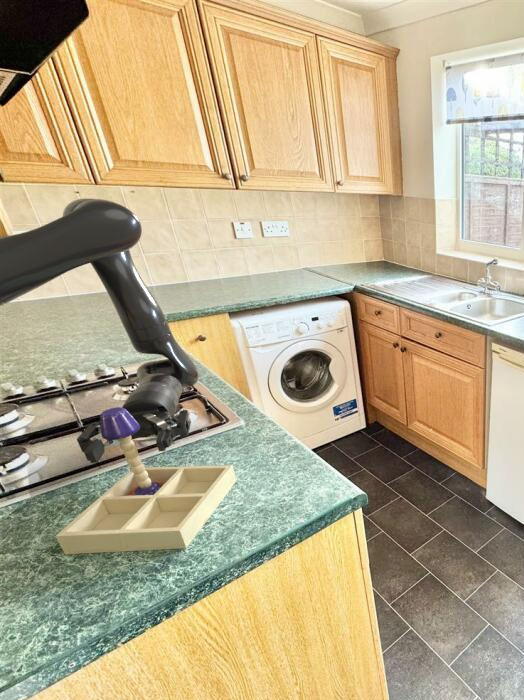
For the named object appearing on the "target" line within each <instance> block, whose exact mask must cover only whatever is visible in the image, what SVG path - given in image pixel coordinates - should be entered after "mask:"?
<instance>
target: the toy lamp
mask: <svg viewBox="0 0 524 700" xmlns="http://www.w3.org/2000/svg"><path fill="white" fill-rule="evenodd" d="M99 421H100V426H101V435H102V437H103V438H104V439H103V440H106V441H107V440H118V441H119V442H120V445H119V447H120V449H121V450H122V451H123V455H124V457H125V458H126V462H127V464H128V466H130V471H132V472H133V473H134V477H135V479H136V480H138V485H139V487H138V488H137V489H136V490H135V491H134V493H133V496H137V495H154V494H155V493H156V492H157V491H158V490H159V489H160V488H161V487H162V485H161V484H159V483H155V482H151V480H150V478H149V477H148V473H147V471H146V470H145V467H146V465H145V464H144V463H143V462H142V457H141V456H140V455H139V451H138V449H137V448H136V447H135V446H136V445H135V444H136V443H135V442H134V440H133V439H132V440H131V438H132V437H131V435H133V434H135V433H136V432H138V431H139V429H140V425H139V424H138V423H137V421H136V420H135V419H134V418H133V417H132V416H131V415H130V414H129V412H128V411H127V410H126V409H124V408H122V407H121V406H115V407H112V408H107V409H106V410H103V411H102V412H101V413H100V416H99Z"/></svg>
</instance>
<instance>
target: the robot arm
mask: <svg viewBox="0 0 524 700" xmlns="http://www.w3.org/2000/svg"><path fill="white" fill-rule="evenodd" d="M142 229H143V228H142V224H141V221H140V219H139V218H138V217H137V215H136V214H135V212H133V211H132V210H131V209H129V208H127V207H125V206H124V205H122V204H120V203H117V202H115V201H111V200H108V199H101V198H78V199H75V200H73V201H71V202H69V203H68V204H67V205H66V206H65V208H64V209H63V211H62V216H61V217H59V218H56V219H55V220H52V221H50V222H48V223H46V224H44V225H41V226H39V227H36V228H33V229H31V230H28V231H24V232H20V233H16V234H11V235H6V236H1V237H0V307H1V306H4V304H5V305H6V304H8V303H10V302H12V301H14V300H16V299H18V298H20V297H22V296H24V295H26V294H28V293H30V292H32V291H34V290H37V289H38V288H40V287H42V286H44V285H45V284H47V283H49V282H51V281H53V280H55V279H57V278H58V277H61V276H63V275H64V274H66V273H68V272H70V271H73V270H75V269H77V268H80V267H83V266H85V265H88V264H90V265H91V267H92V268H93V269H94V272H95V273H96V275H97V276H98V278H99V280H100V281H101V283H102V285H103V286H104V288H105V291H106V293H107V294H108V296H109V299H110V301H111V303H112V304H113V307H114V309H115V311H116V312H117V315H118V317H119V320H120V321H121V324H122V327H123V329H124V330H125V332H126V335H127V336H128V339H129V341H130V343H131V345H132V347H133V349H134V350H135V351H136V352H137V353H139V354H144V355H160V356H163V357H164V358H165V359H158V360H153V361H152V360H151V361H147V362H145V363H142V364H141V365H140V366H138V367H137V369H136V378H137V381H138V385H137V387H136V388H135V389H134V390H133V391H132V392H131V393H130V395H128V397H127V399H126V401H125V402H124V404H123V405H122V408H124V409H126V410H127V411H128V412H129V414H130V415H131V416H132V417H133V418H134V419H135V420H136V421H137V423H138V424H139V425H140V429H139V431H138V432H136V433H135V434H133V435H131V437H132V438H131V440H132V441H133V440H137V439H141V438H143V439H144V438H150V437H155V438H156V440H155V443H156V444H155V445H156V447H157V449H158V452H166V450H167V448H170V447H171V446H172V444H173V441H174V440H176V437H179V436H180V437H181V438H184V437H188V436H190V435H189V434H190V429H191V424H192V421H191V418H190V415H189V410H187V409H183V410H180V411H179V412H178V413H177V414H176V411H177V410H178V407H179V400H180V399H181V396H182V393H183V389H186V388H191V387H194V386H195V385H196V384H197V383H198V381H199V378H200V372H199V368H198V367H197V365H196V363H195V362H194V361H193V360H192V359H191V358H190V357H189V355H188V354H187V353H186V351H184V349H182V347H181V346H180V344H179V342H178V341H177V339H176V338H175V336H174V335H173V332H172V330H171V327H170V326H169V322H168V321H167V318H166V316H165V314H164V312H163V310H162V308H161V306H160V304H159V303H158V301H157V299H156V298H155V297H154V295H153V294H152V292H151V291H150V289H149V288H148V286H147V285H146V284H145V282H144V280H143V278H142V276H141V275H140V273H139V271H138V269H137V268H136V265H135V263H134V260H133V258H132V255H131V251H130V250H131V249H132V248H133V247H135V246H136V245H137V244H138V243H139V241H140V240H141V237H142V231H143V230H142ZM173 423H175V424H176V425H174V426H172V425H173ZM103 440H105V439H104V438H103V437H102V435H101V423H100V422H98V421H95V422H92V423H89V425H88V426H87V427H86V428H85V429H84V430H83V431H82V432H81V434H80V435H79V436H78V437H77V438H76V441H77V443H78V446H79V448H80V450H81V453H83V454H84V456H85V458H86V461H87V462H90V463H91V464H95V463H99V461H100V460H101V458H102V456H103V455H104V453H105V452H106V451H105V450H108V449H110V448H112V447H120V442H119V441H118V440H106V442H104V443H103Z"/></svg>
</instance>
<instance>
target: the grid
mask: <svg viewBox="0 0 524 700" xmlns="http://www.w3.org/2000/svg"><path fill="white" fill-rule="evenodd" d="M145 470H146V471H147V473H148V477H149V478H150V480H151V482H155V483H159V484H161V485H162V487H161V488H160V489H159V490H158V491H157V492H156V493H155V494H154V495H137V496H133V493H134V491H135V490H136V489H137V488H138V487H139V485H138V480H136V479H135V477H134V473H133V472H132V471H131V470H129V471H128V472H127V473H126V474H125V475H123V476H122V477H121V478H120V479H119V480H117V482H116V483H114V485H112V486H111V487H110V488H108V490H107V491H105V492H104V493H103V494H102V495H101V496H100V497H98V498H97V499H96V500H95V501H94V502H93V503H91V504H90V505H89V506H88V507H87V508H86V509H85V510H83V511H82V512H81V513H80V514H79V515H77V516H76V517H75V518H74V519H73V520H72V521H70V523H69V524H67V525H66V526H65V527H64V528H62V529H61V531H60V532H58V533H57V534H56V535H55V539H56V540H57V542H58V544H59V546H60V548H61V550H62V551H63V553H64V555H76V554H80V555H81V554H98V553H99V554H101V553H117V552H118V553H120V552H121V553H122V552H139V551H141V552H142V551H143V552H144V551H160V550H161V551H162V550H181V549H182V550H183V549H184V550H185V549H188V547H189V546H190V544H191V543H192V541H193V540H194V539H195V538H196V536H197V535H198V534H199V532H200V531H201V529H202V528H203V527H204V525H205V524H206V523H207V521H209V519H210V517H211V516H212V515H213V513H214V512H215V511H216V509H217V508H218V506H219V505H221V502H222V501H223V500H224V499H225V497H226V496H227V495H228V493H229V492H230V491H231V489H232V488H233V487H234V485H235V484H236V482H238V481H237V476H236V473H235V470H234V465H233V464H228V465H227V464H224V465H222V464H221V465H187V466H186V465H185V466H148V467H147V466H145Z"/></svg>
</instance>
